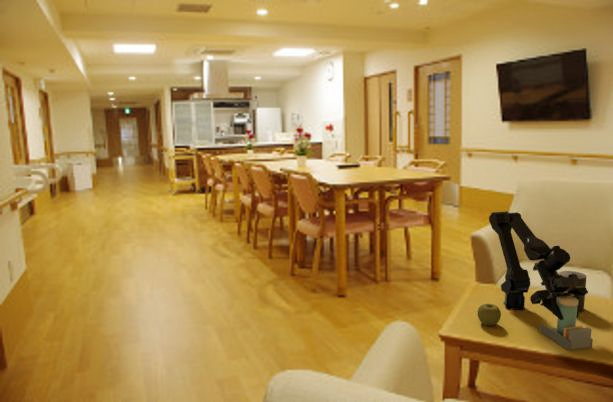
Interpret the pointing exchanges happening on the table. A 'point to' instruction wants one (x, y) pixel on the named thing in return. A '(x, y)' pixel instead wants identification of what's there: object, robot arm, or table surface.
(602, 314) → the table surface
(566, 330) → the plate
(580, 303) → the pillar candle
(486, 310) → the apple
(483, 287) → the table surface
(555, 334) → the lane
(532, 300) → the robot arm
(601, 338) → the table surface
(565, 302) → the jar
